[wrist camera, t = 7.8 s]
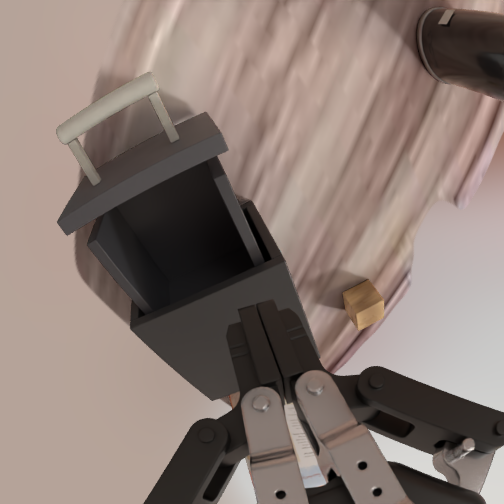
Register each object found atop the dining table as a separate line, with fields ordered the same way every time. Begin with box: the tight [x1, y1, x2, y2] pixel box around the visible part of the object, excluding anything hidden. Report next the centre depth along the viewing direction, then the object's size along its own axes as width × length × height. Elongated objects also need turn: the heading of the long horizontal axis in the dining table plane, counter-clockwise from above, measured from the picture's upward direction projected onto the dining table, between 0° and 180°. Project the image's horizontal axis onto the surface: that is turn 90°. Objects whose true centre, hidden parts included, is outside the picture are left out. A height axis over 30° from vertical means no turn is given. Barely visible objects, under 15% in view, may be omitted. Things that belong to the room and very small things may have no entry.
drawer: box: [56, 71, 265, 315], centre depth 21 cm, size 18×11×8 cm, turn 21°
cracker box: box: [229, 391, 326, 490], centre depth 42 cm, size 14×6×21 cm, turn 59°
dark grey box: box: [130, 201, 320, 401], centre depth 29 cm, size 15×13×10 cm
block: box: [342, 280, 384, 331], centre depth 39 cm, size 4×4×4 cm
